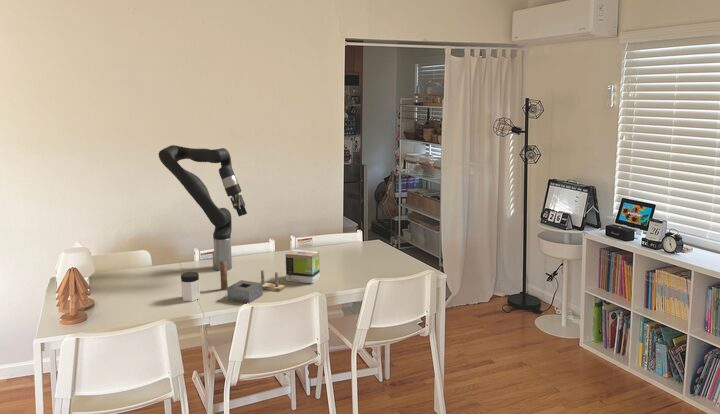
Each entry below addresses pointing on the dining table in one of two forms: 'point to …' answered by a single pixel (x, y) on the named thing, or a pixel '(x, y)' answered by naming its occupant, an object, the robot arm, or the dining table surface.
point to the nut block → (245, 291)
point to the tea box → (302, 266)
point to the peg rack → (271, 286)
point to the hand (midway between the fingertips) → (243, 215)
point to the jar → (190, 286)
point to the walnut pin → (223, 275)
